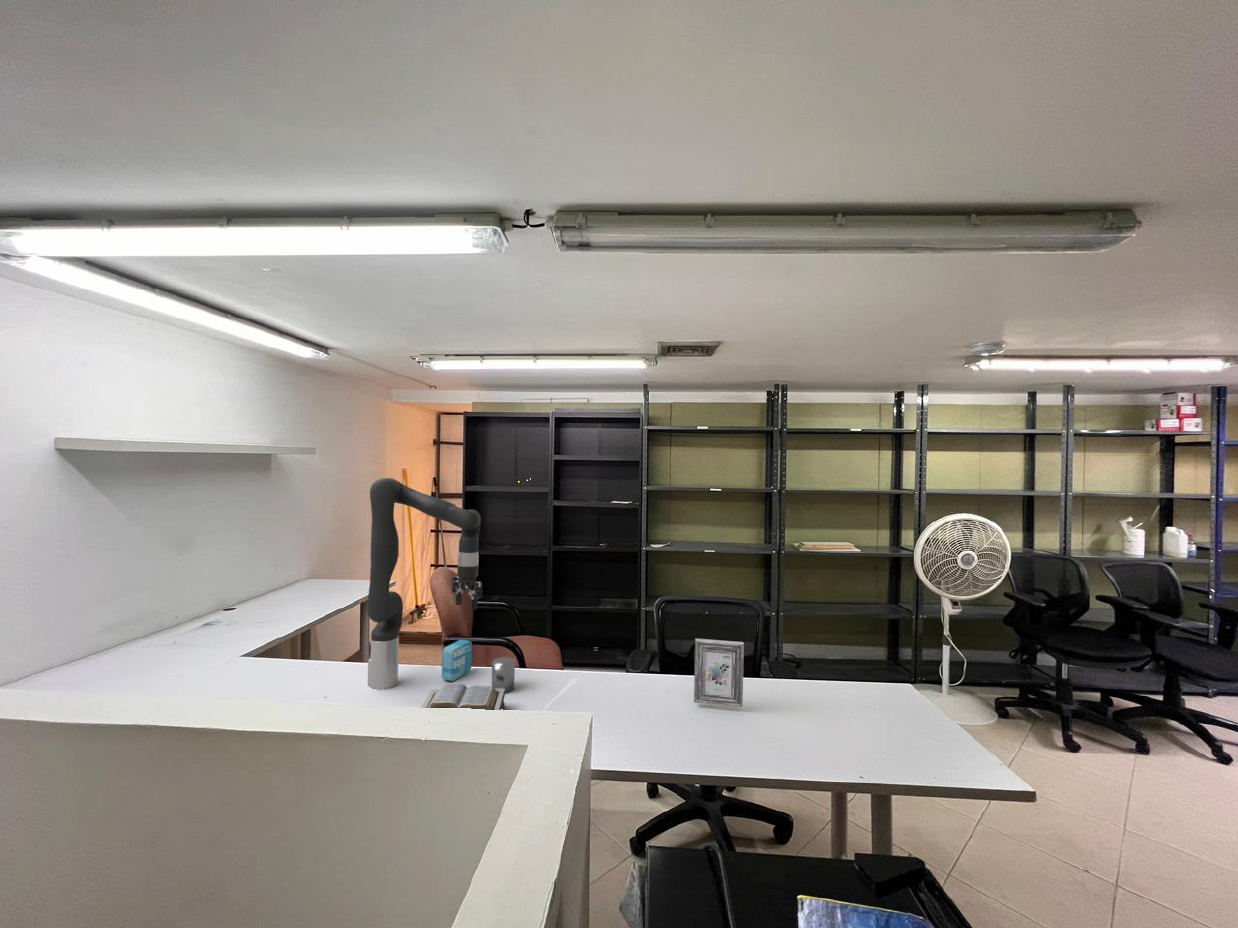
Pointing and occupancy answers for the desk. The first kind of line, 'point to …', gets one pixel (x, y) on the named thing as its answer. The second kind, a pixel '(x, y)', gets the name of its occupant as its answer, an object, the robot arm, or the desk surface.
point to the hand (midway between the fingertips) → (466, 606)
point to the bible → (466, 697)
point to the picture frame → (718, 672)
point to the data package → (456, 660)
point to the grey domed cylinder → (503, 673)
